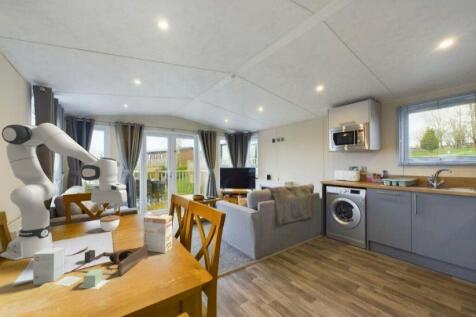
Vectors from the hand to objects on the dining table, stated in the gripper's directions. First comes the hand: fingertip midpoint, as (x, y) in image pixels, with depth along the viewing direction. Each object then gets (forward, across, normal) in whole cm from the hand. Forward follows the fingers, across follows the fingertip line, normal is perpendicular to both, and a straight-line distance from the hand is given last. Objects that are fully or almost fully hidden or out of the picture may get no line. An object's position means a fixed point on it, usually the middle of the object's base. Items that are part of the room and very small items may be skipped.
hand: (108, 210), depth 112 cm
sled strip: (+24, +12, -12) cm, 29 cm away
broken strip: (+24, +11, -28) cm, 38 cm away
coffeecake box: (+24, +25, +8) cm, 36 cm away
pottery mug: (+24, +17, -11) cm, 32 cm away
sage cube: (+23, +17, -28) cm, 40 cm away
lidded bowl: (+24, -28, +33) cm, 49 cm away
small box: (+24, -5, -27) cm, 36 cm away
